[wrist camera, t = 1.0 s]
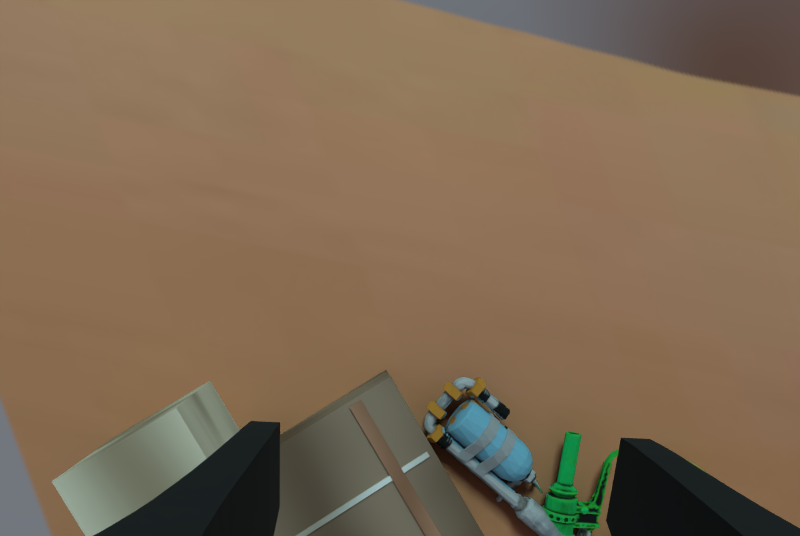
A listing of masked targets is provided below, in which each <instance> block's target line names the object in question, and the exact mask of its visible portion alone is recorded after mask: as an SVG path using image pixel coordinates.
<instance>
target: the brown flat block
mask: <svg viewBox="0 0 800 536" xmlns="http://www.w3.org/2000/svg"><path fill="white" fill-rule="evenodd" d="M274 536H484V535H483V533H482V531H481V530H480V528H479V526H478V525H477V523H476V521H475V519H474V518H473V516H472V514H471V513H470V511H469V509H468V508H467V506H466V504H465V503H464V501H463V499H462V497H461V496H460V494H459V492H458V491H457V489H456V487H455V486H454V484H453V482H452V480H451V479H450V477H449V475H448V474H447V472H446V470H445V469H444V467H443V465H442V463H441V462H440V460H439V458H438V457H437V455H436V453H435V452H434V450H433V448H432V446H431V445H430V443H429V441H428V440H427V438H426V436H425V435H424V433H423V431H422V429H421V428H420V426H419V424H418V423H417V421H416V419H415V418H414V416H413V414H412V412H411V411H410V409H409V407H408V406H407V404H406V402H405V401H404V399H403V397H402V395H401V394H400V392H399V390H398V389H397V387H396V385H395V384H394V382H393V380H392V378H391V377H390V375H389V374H388V372H387V371H386V370H385V371H384V372H382V373H380V374H379V375H377V376H376V377H374V378H372V379H371V380H369V381H367V382H366V383H364V384H363V385H361V386H359V387H358V388H356V389H354V390H353V391H351V392H349V393H348V394H346V395H345V396H343V397H341V398H340V399H338V400H336V401H335V402H333V403H332V404H330V405H328V406H327V407H325V408H323V409H322V410H320V411H318V412H317V413H315V414H314V415H312V416H310V417H309V418H307V419H305V420H304V421H302V422H301V423H299V424H297V425H296V426H294V427H292V428H291V429H289V430H287V431H286V432H284V433H283V434H281V435H280V508H279V513H278V518H277V522H276V527H275V532H274Z"/></svg>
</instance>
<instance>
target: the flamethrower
mask: <svg viewBox="0 0 800 536" xmlns="http://www.w3.org/2000/svg"><path fill="white" fill-rule="evenodd" d="M443 389H444V390H445V392H444V394H443V395H442V396H441V397H440V399H439V400H438V401H437V402H435V401H433V400H432V401H431V402H430V403H429V404H428V405H427V406H426V407H427V408H428V409H429V412H428V413H427V415H426V418H425V421H424V429H425V430H426V431H427V432H428V434H427V437H426V438H427V440H429V441H430V442H431V443H436V442H437V444H439V446H441V448H444V449H445V450H447V451H448V452H449V453H450V454H451V455H453V456H454V457H455V458H456V459H457V460H458V461H460V462H461V463H462V464H463V465H464V466H465V467H467V468H468V469H469V470H470V471H471V472H472V473H474V474H475V475H476V476H477V477H478V478H480V479H481V480H482V481H483V482H484V483H486V484H487V485H488V486H489V487H490V488H492V489H493V490H494V491H495V492H496V493H497V494H499V495H498V497H497V498H496V500H497V502H500V501H501V500H502V499H504V500H505V501H507V502H508V503H509V504H510V505H511V507H512V508H513V509H514V510H515V513H516V516H517V517H518V518H519V519H520V520H521V521H522V522H524V523H525V524H526V525H527V526H528V527H529V528H531V529H532V530H533V531H534V532H535V533H537V534H538V535H539V536H575V535H574V534H573V528H579V530H578V532H577V535H576V536H582V535H584V536H591V533H592V530H593V529H594V528H599V526H600V524H599V523H598V517H599V515H601V511H600V510H601V507H602V503H603V499H604V494H605V489H606V484H607V480H608V475H609V471H610V467H611V463H612V461H613V459H614V457H616V456H618V452H619V451H618V450H616V451H614V452H612V453H610V455H609V456H608V457H607V459H606V460H605V461H604V463H603V466H602V469H601V473H600V476H599V479H598V483H597V486H596V489H595V492H594V494H593V496H592V497H591V499H590V501H589V502H580V501H578V499H577V497H575V495H577V494H578V491H577V490H576V488H575V487H574V486H573V480H574V475H575V469H576V463H577V458H578V452H579V446H580V441H581V434H578V433H575V432H566V434H565V439H564V445H563V450H562V455H561V461H560V466H559V472H558V478H557V482H555V483H554V484H552V485H551V486H549V488H550V490H551V491H552V492H548V493H547V494H546V499H545V505H543V506H541V505H539V504H538V503H537V502H536V501H535V500H533V499H532V498H531V497H523V496H522V495H521V494H517V493H516V492H515V491H513V489H515V488H516V487H518V486H519V485H520V484H521V483H522V482H523V481H524V482H525V483H526V484H529V483H533V484H534V485H535V487H536V488H537V489H538V490H539V491H540V492H541V493H542V494H543V492H542V490H541V489H540V487H539V485H538V484H537V481H536V480H535V478H536V472H535V471H534V470H532V461H533V460H532V456H531V453H530V451H529V449H528V448H527V446H526V445H525V444H524V443H523V442H522V441H521V440H520V439H518V438H517V437H516V435H515V433H514V432H513V431H511V430H510V429H509V428H508V427H506V426H503V425H502V424H500V421H499V419H498V418H497V417H496V416H495V415H493V414H492V413H491V412H487V411H486V410H485V409H484V408H483V407H482V406H480V405H479V404H478V403H477V402H476V401H475V400H474V399H468V400H466V401H465V402H464V403H462V404H461V405H459V406H458V407H457V409H456V410H455V411H454V412H453V414H452V415H451V417H450V418H449V420H448V422H447V425H446V430H445V429H444V427H443V426H441V425H440V424H435V423H436V421H437V419H440V420H442V419H443V418H444V417H445V416H446V415H447V413H446V411H445V409H446V408H447V406H448V405H449V404H450V403H451V401H452V400H453V399H455V400H457V401H459V400H460V399H461V397H462V396H463V393H462V392H461V391H462V390H463V389H467V390H466V394H467V395H468V396H469V397H471V398H475V397H476V398H478V399H479V400H480V401H481V402H482V403H485V404H486V405H487V406H488V407H490V408H491V411H493V413H495V414H496V415H497V416H498V417H499V418H501V420H504V419H506V418H507V416H508V415H509V413H510V410H509V409H508V408H506V406H505V405H504V404H502V403H501V402H500V401H499V400H497V399H496V398H495V397H494V396H492V395H491V394H490V393H489V392H488V391H487V390H486V389H485V382H484V381H483V380H482V379H481V378H480V377H478V378H476V379H474V380H472V379H470V378H467V377H460V378H458V379H456V380H455V381H454V382H453V383H450V382H447V383H446V384H445V385H444V387H443ZM453 438H455V439H456V440H457V441H458V442H459V443H460V444H459V443H458V442H457V441H456V440H455V439H453ZM474 456H476V458H475V457H474ZM685 460H686V459H685ZM687 461H688V460H687ZM689 462H690V461H689ZM690 463H692V462H690ZM692 464H693V465H695V464H694V463H692ZM695 466H697V465H695ZM697 467H698V466H697ZM698 468H700V467H698ZM700 469H701V468H700ZM491 470H492V471H493V472H495V473H496V474H497V475H498V476H499V477H500V478H502V479H505V480H508V481H509V482H507V484H505V483H504V482H503V481H502V480H501V479H500V478H499V477H497V476H496V475H495V474H494V473H493V472H492V471H491ZM701 470H703V469H701ZM703 471H704V470H703ZM704 472H705V471H704ZM706 473H707V472H706ZM709 475H710V474H709ZM577 501H578V502H577ZM586 528H587V530H586Z"/></svg>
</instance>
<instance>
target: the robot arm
mask: <svg viewBox="0 0 800 536" xmlns="http://www.w3.org/2000/svg"><path fill="white" fill-rule="evenodd" d="M279 508H280V422H257V421H250V422H249V423H248V424H247V425H246V426H244V427H243V428H242V429H241V430H240V431H238V432H237V433H236V434H235V435H234V436H233V437H231V438H230V439H229V440H228V441H227V442H226V443H224V444H223V445H222V446H221V447H220V448H219V449H217V450H216V451H215V452H214V453H213V454H212V455H210V456H209V457H208V458H207V459H205V460H204V461H203V462H202V463H201V464H199V465H198V466H197V467H196V468H194V469H193V470H192V471H191V472H189V473H188V474H187V475H185V476H184V477H183V478H181V479H180V480H179V481H177V482H176V483H175V484H173V485H172V486H171V487H169V488H168V489H166V490H165V491H164V492H162V493H161V494H160V495H158V496H157V497H156V498H154V499H153V500H151V501H150V502H148V503H147V504H145V505H144V506H142V507H141V508H139V509H137V510H136V511H134V512H133V513H131V514H130V515H128V516H126V517H125V518H123V519H121V520H120V521H118V522H116V523H115V524H113V525H111V526H110V527H108V528H106V529H104V530H103V531H101V532H99V533H97V534H95V535H93V536H274V532H275V527H276V522H277V518H278V513H279ZM606 521H607V524H608V527H609V530H610V533H611V536H800V528H798V527H796V526H794V525H793V524H791V523H789V522H787V521H786V520H784V519H782V518H780V517H779V516H777V515H775V514H773V513H772V512H770V511H768V510H766V509H765V508H763V507H761V506H760V505H758V504H756V503H755V502H753V501H751V500H750V499H748V498H746V497H745V496H743V495H741V494H740V493H738V492H736V491H735V490H733V489H732V488H730V487H728V486H727V485H725V484H724V483H722V482H720V481H719V480H717V479H716V478H714V477H712V476H711V475H709V474H708V473H706V472H704V471H703V470H701V469H700V468H698V467H697V466H695V465H693V464H692V463H690V462H689V461H687V460H685V459H684V458H682V457H681V456H679V455H677V454H676V453H674V452H672V451H671V450H669V449H667V448H666V447H664V446H662V445H660V444H658V443H656V442H654V441H652V440H650V439H637V438H621V441H620V446H619V452H618V457H617V463H616V469H615V474H614V480H613V485H612V491H611V497H610V502H609V508H608V513H607V519H606Z"/></svg>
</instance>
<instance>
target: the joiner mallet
mask: <svg viewBox="0 0 800 536" xmlns="http://www.w3.org/2000/svg"><path fill="white" fill-rule="evenodd" d="M238 431H240V430H239V428H238V426H237V425H236V423H235V421H234V420H233V418H232V416H231V415H230V413H229V411H228V410H227V408H226V406H225V405H224V403H223V401H222V400H221V398H220V396H219V395H218V393H217V391H216V390H215V388H214V386H213V385H212V383H211V381H209V382H207V383H205V384H203V385H202V386H200V387H198V388H197V389H195V390H193V391H192V392H190V393H188V394H187V395H185V396H183V397H181V398H180V399H178V400H176V401H175V402H173V403H171V404H170V405H168V406H166V407H164V408H163V409H161V410H159V411H158V412H156V413H154V414H153V415H151V416H149V417H147V418H146V419H144V420H142V421H141V422H139V423H137V424H136V425H134V426H132V427H130V428H129V429H127V430H125V431H124V432H122V433H120V434H119V435H117V436H115V437H114V438H112V439H111V440H109V441H108V442H107V443H105V444H104V445H102V446H101V447H100V448H98V449H97V450H95V451H94V452H93V453H91V454H90V455H88V456H87V457H85V458H84V459H83V460H81V461H80V462H78V463H77V464H76V465H74V466H73V467H71V468H70V469H69V470H67V471H66V472H64V473H63V474H62V475H60V476H59V477H57V478H56V479H54V480H53V481H52V483H53V484H54V486H55V488H56V489H57V491H58V492H59V494H60V496H61V497H62V499H63V500H64V502H65V504H66V505H67V507H68V509H69V510H70V512H71V513H72V515H73V517H74V518H75V520H76V521H77V523H78V525H79V526H80V528H81V529H82V531H83V533H84V534H85V536H93V535H95V534H97V533H99V532H101V531H103V530H104V529H106V528H108V527H110V526H111V525H113V524H115V523H116V522H118V521H120V520H121V519H123V518H125V517H126V516H128V515H130V514H131V513H133V512H134V511H136V510H137V509H139V508H141V507H142V506H144V505H145V504H147V503H148V502H150V501H151V500H153V499H154V498H156V497H157V496H158V495H160V494H161V493H162V492H164V491H165V490H166V489H168V488H169V487H171V486H172V485H173V484H175V483H176V482H177V481H179V480H180V479H181V478H183V477H184V476H185V475H187V474H188V473H189V472H191V471H192V470H193V469H194V468H196V467H197V466H198V465H199V464H201V463H202V462H203V461H204V460H205V459H207V458H208V457H209V456H210V455H212V454H213V453H214V452H215V451H216V450H217V449H219V448H220V447H221V446H222V445H223V444H224V443H226V442H227V441H228V440H229V439H230V438H231V437H233V436H234V435H235V434H236V433H237V432H238Z"/></svg>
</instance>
